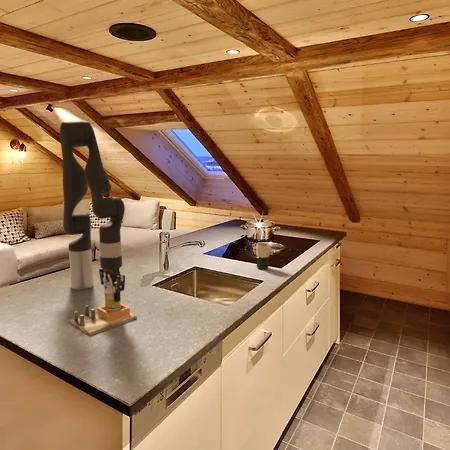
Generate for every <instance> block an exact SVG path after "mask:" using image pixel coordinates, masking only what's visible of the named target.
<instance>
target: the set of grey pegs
mask: <svg viewBox="0 0 450 450" xmlns="http://www.w3.org/2000/svg"><path fill="white" fill-rule="evenodd" d="M95 311H96V309H95V308H92V309H91V308H90V305H88V304H86V305H84V314H80V315H79V311H78V310H74V311H73V318H74V321H75V322H76V323H78V324H79V325H81V326H84V325H85V323H84V315H86V316H87V317H89V318H91V319H92V320H93V319H96V317H95ZM90 313H91V314H90ZM78 317H80V320H79V319H78Z"/></svg>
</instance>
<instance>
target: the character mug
mask: <svg viewBox="0 0 450 450" xmlns="http://www.w3.org/2000/svg"><path fill="white" fill-rule="evenodd" d="M252 251H253V253H255V255H256V256H257V257H258V258H257V261H256V262H257V263H256V268H258V269H262V270H263V269H264V270H265V269H268V268H269V259H268V257H270V255H271V256H272V255H274V249H273V248H271V244H270V243H269V242H268V243H266V242H257V244H256V246H253V250H252Z"/></svg>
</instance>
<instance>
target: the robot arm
mask: <svg viewBox="0 0 450 450" xmlns="http://www.w3.org/2000/svg"><path fill="white" fill-rule="evenodd" d="M59 138H60V148H61V155H62V157H61V158H62V190H63V218H62V219H63V220H62V222H63V223H62V224H63V230H64V231H63V232H64V234H66V235H68V236H69V235H73V236H74V235H81V236H80V237H79V238H78V239H76V240H72V241H71V242H69V243H68V257H69V259H68V260H69V272H70V274H69V275H70V286H71V289H72V290H75V291H76V290H78V291H81V290H88V289H91V288H92V287H94V271H93V253H92V239H91V238H92V235H91V233H92V232H91V228H92V227H91V220H92V219H91V215H90V213H88V212H74V211H75V209H76V207H77V205H78V204H79V203H80V202H81V201H82V200H83V199H84V198H85V196H86V194H87V192H88V190H90V195H91V197H90V198H91V206H92V213H93V214H94V216H95V217H96V218H98V219H99V220H100V219H101V220H102V219H103V220H105V219H109V221H108V222H107V223H105V224H103V225H101V226H100V227H99V231H98V232H99V233H98V234H99V246H98V247H99V250H98V251H99V267H100V268H99V269H98V272H99V278H100V279H99V280H100V285H102V286H103V288H104V290H105V289H106V288H107V287H106V283H107V282H110V284H111V286H112V287H113V290H114V302H119V301H120V300H121V298H122V297H121V292H124V291H125V287H126V286H125V285H126V284H125V283H126V276H125V274H123V275H122V274H121V271H120V268H122V266H123V248H122V246H123V245H122V241H121V229H122V224H123V219H124V215H125V210H126V207H125V202H124V201H123V199H121V198H120V197H119V196H118V197H117V196H111V197H110V196H109V197H104V196H105V195H107V194H109V193H110V192H111V190H112V185H111V183H110V180H109V178H108V175H107V173H106V170H105V168H104V165H103V161H102V158H101V153H100V149H99V146H98V145H99V144H98V141H97V137H96V134H95V131H94V128H93V126H92V124H91V123H90V121H87V120H67V121H66V120H65V121H63V122H61V123H60V125H59ZM82 147H87V149H88V158H87V159H86V160H87V161H86V164H85V166H84V167H85V168H84V167H83V166H82V165H81V164H80V162H78V160H77V158H76V156H74V151H73V150H74V148H82ZM88 188H89V189H88ZM114 282H117V283H114ZM116 285H117V287H116ZM121 301H122V300H121Z"/></svg>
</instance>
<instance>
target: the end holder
mask: <svg viewBox="0 0 450 450" xmlns="http://www.w3.org/2000/svg"><path fill="white" fill-rule="evenodd" d="M96 311H98V315H100V316H101V317H103V318H105V319H107V320H108V321H112V320H115V319H118V318H120V317H123V316H126V315H129V314H130V313H131V309H130V307H129V306H127V305H126V304H123V303H121V307H120V309H118V311H115V312H112V313H109V311H108V310H106V308H105V305H102V306H100V307H97V309H96Z"/></svg>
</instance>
